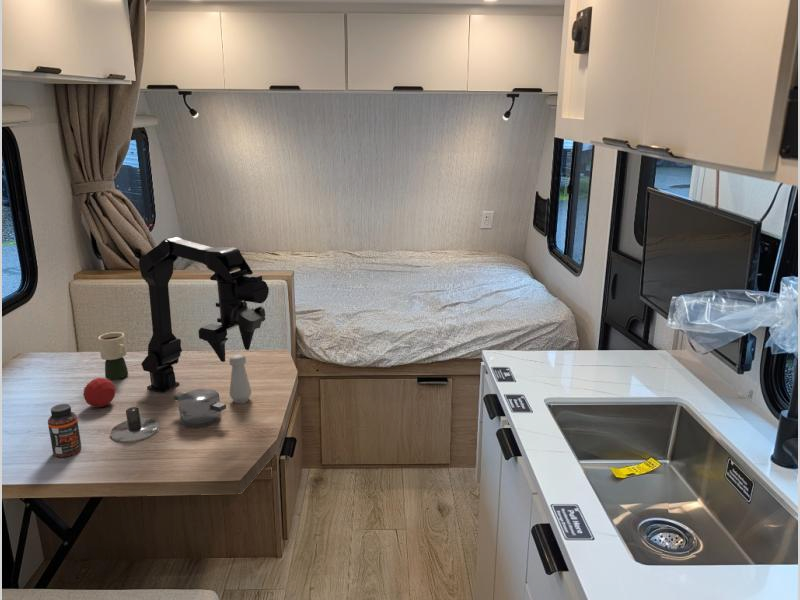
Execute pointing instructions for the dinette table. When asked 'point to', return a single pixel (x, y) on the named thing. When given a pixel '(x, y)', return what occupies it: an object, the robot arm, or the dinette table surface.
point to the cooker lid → (134, 427)
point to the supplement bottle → (64, 431)
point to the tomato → (99, 392)
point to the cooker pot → (199, 407)
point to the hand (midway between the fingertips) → (235, 355)
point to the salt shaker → (239, 380)
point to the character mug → (113, 354)
